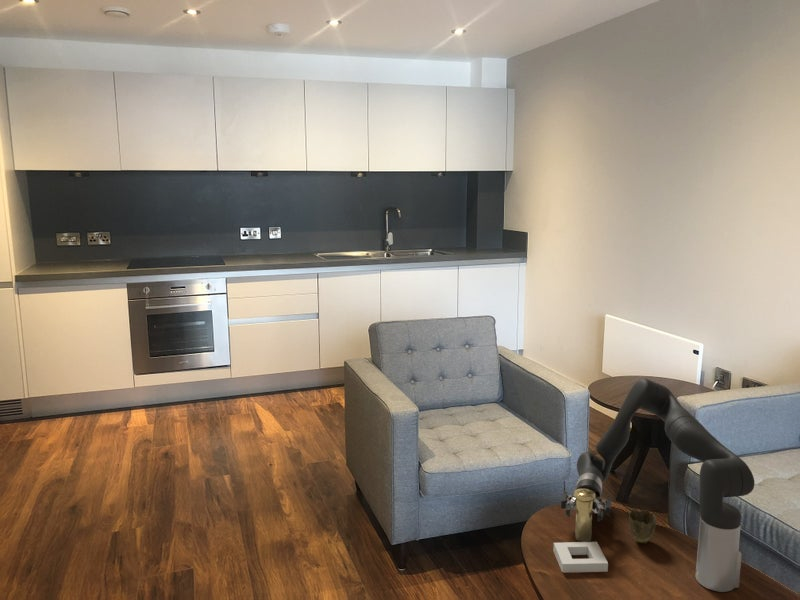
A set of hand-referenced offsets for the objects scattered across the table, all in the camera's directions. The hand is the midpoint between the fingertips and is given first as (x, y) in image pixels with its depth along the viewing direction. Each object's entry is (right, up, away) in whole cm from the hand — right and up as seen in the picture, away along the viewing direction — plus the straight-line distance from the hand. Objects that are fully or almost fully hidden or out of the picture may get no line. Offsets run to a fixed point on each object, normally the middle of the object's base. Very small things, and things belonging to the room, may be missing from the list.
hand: (583, 516), depth 187 cm
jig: (-3, -10, -7) cm, 13 cm away
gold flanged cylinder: (+1, -7, +3) cm, 8 cm away
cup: (+17, -8, +2) cm, 19 cm away
